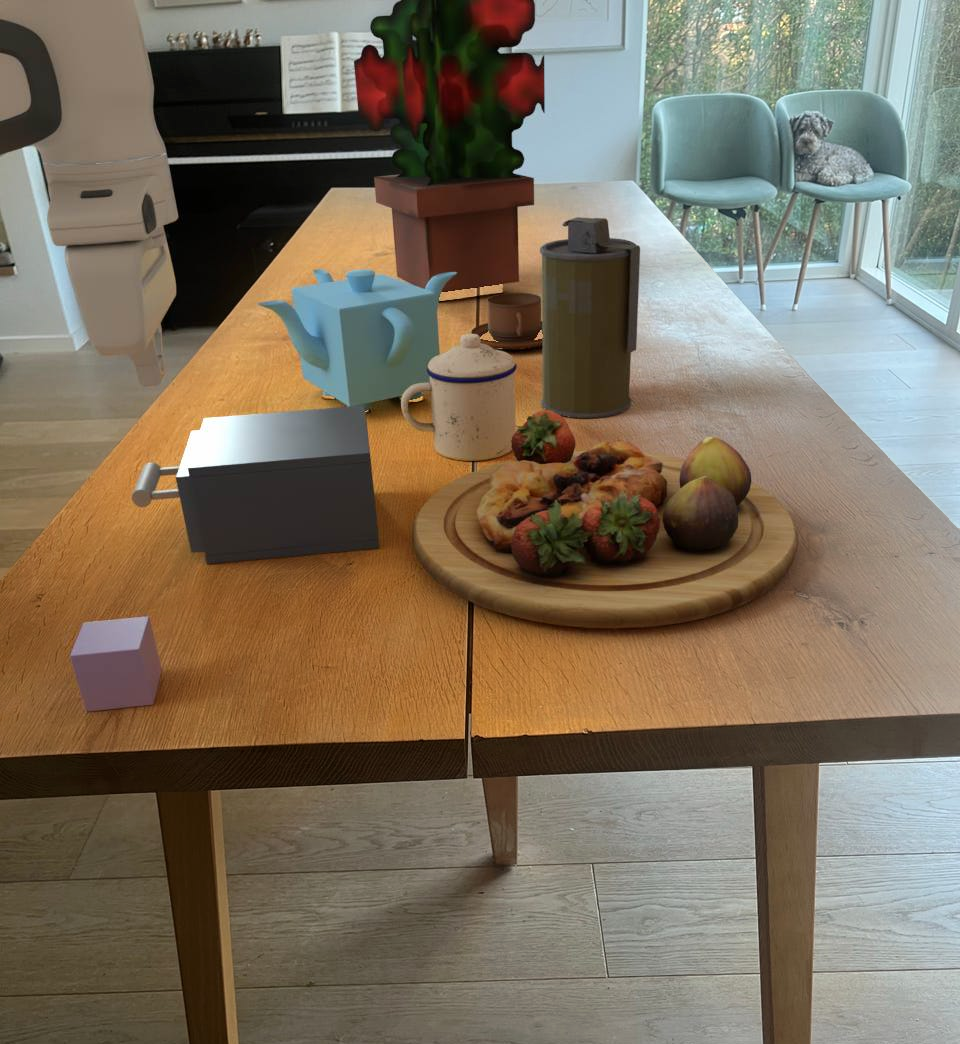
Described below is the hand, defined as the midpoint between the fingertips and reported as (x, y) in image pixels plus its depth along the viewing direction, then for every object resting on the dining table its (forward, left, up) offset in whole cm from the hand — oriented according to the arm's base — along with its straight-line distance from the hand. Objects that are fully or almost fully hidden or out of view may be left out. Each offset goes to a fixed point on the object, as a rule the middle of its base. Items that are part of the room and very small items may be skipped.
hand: (153, 381), depth 84 cm
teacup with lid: (+27, +16, -14) cm, 34 cm away
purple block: (-1, -25, -14) cm, 29 cm away
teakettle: (+18, +37, -14) cm, 43 cm away
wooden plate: (+36, -9, -14) cm, 40 cm away
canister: (+43, +27, -14) cm, 53 cm away
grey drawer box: (+10, 0, -14) cm, 17 cm away
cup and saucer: (+39, +55, -14) cm, 69 cm away
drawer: (+6, 0, -13) cm, 14 cm away
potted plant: (+35, +91, -14) cm, 98 cm away
